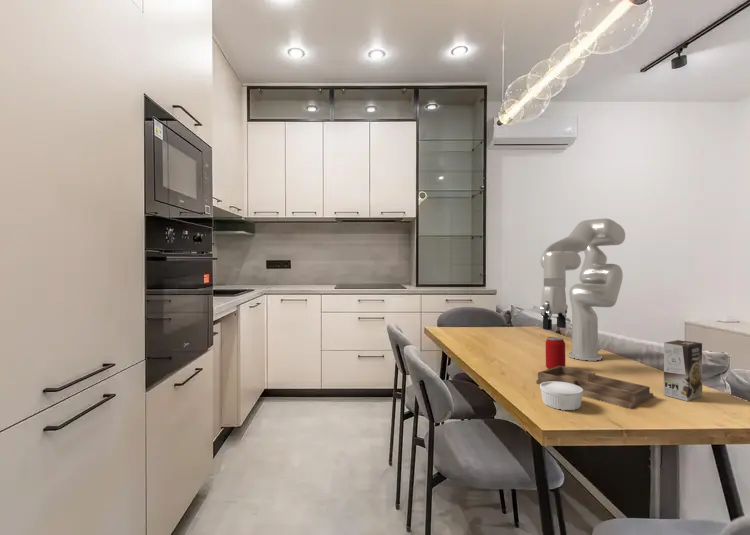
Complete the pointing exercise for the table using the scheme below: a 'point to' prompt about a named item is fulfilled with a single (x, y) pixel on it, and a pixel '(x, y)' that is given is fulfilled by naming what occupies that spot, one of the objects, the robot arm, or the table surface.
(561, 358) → the beverage can
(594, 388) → the brown wooden tray
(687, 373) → the coffee box
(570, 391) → the ramekin
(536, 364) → the table surface
